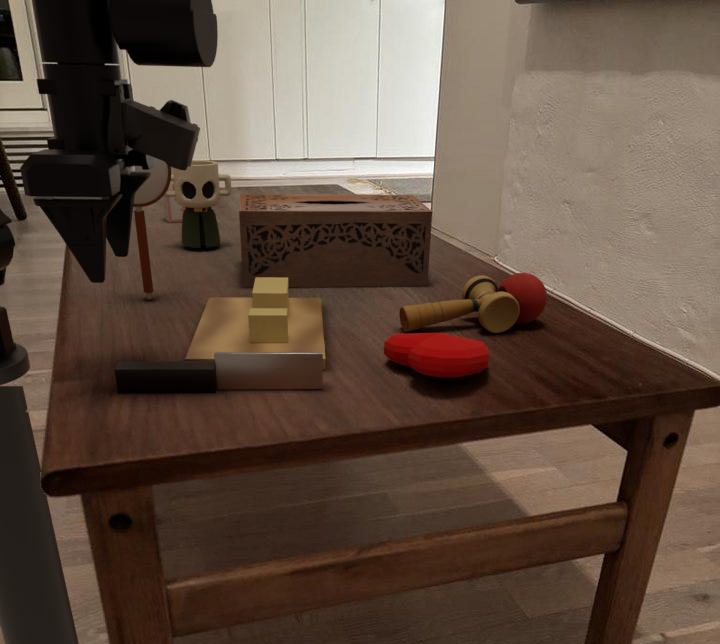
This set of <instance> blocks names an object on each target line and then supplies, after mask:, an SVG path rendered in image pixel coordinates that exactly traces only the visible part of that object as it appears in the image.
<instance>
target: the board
mask: <svg viewBox="0 0 720 644" xmlns="http://www.w3.org/2000/svg"><path fill="white" fill-rule="evenodd" d="M322 306H323V305H322V298H321V297H289V309H288V343H250V337H249V318H248V315H249V310H250V308H253V302H252V297H225V296H224V297H221V296H220V297H219V296H218V297H217V296H215V297H214V296H213V297H211V296H210V297H208V299H207V302H206V305H205V307H204V310H203V312H202V315H201V317H200V320H199V322H198V324H197V327H196V330H195V333H194V335H193V337H192V340H191V343H190V345H189V347H188V350H187V352H186V355H185V357H184V361H215V358H214V353H215V352H323V371H325V370H326V369H327V367H326V365H327V364H326V362H327V358H326V346H325V333H324V320H323V307H322Z"/></svg>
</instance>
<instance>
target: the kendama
mask: <svg viewBox="0 0 720 644" xmlns="http://www.w3.org/2000/svg"><path fill="white" fill-rule="evenodd" d="M547 301H548V293H547V290H546V287H545V284H544V283H543V281H541V279H540V278H539V277H537V276H535V275H534V274H531V273H528V272H517V273H514V274H511V275H508V277H506V278H505V279H504V280H503V281H501V283H500V285H499V286H498V285H497V283H496V282H495V280H494V279H492V278H491V277H489V276H488V275H476V276H473V277H472V278H470V279H469V280H468V281H467V282H466V283H465V285H464V286H463V288H462V292H461V299H451V300H450V299H449V300H441V301H436V302H428V303H419V304H411V305H410V304H409V305H402V306H400V307H399V313H398V315H399V322H400V326H401V328H402V330H403V332H405V333H410V332H412V331H416V330H418V329H422V328H426V327H429V326H432V325H437V324H440V323H444V322H448V321H452V320H454V319H458V318H461V317H463V316H464V317H465V316H467V315H469V314H472V313H474V312H476V313H477V318H478V322H479V324H480V325H481V326H482V327H483V328H484V330H486V331H487V332H489V333H491V334H501V333H505V332H507V331H508V330H510V329H511V328H512V327H513V326H514V325H515V324H517V325H525V324H528V323H531V322H533V321H535V320H537V319H538V318H539V317H540V316H541V315H542V313H543V311H544V310H545V308H546V305H547Z"/></svg>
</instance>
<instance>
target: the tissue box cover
mask: <svg viewBox="0 0 720 644" xmlns="http://www.w3.org/2000/svg"><path fill="white" fill-rule="evenodd" d="M239 195H240V196H239V197H240V198H239V207H238V217H239V237H240V255H241V271H242V272H241V273H242V288H244V289H246V288H247V289H249V288H251V289H253V287H254V282H255V278H256V277H277V278H288V283H289V288H330V287H331V288H342V287H343V288H346V287H347V288H350V287H351V288H353V287H354V288H355V287H356V288H357V287H361V288H362V287H428V285H429V284H428V283H429V269H430V255H431V254H430V253H431V239H432V237H431V236H432V225H433V211H432V210H431V209H430V208H429V207H428V206H426V204H424V203H423V202H422V201H421V200H419V198H418V197H416V196H414V195H413V194H357V193H356V194H355V193H353V194H351V193H350V194H349V193H348V194H346V193H345V194H344V193H343V194H338V193H337V194H333V193H331V194H328V193H327V194H326V193H318V194H317V193H316V194H315V193H240V194H239Z"/></svg>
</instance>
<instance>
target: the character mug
mask: <svg viewBox="0 0 720 644" xmlns="http://www.w3.org/2000/svg"><path fill="white" fill-rule="evenodd" d="M172 170H173V175H171V181H174V191H169V190H167V191H166V193H165V194H164V196H165V197H175V200H176V202H177V204H179V205H181V206H184V207H185V210H184V212H183V215H182V222H181V244H182V245H183V246H184V247H188V248H196V249H199V248H201V245H203V244H205V248H214V247H217V246H220V244H221V237H220V236H221V235H220V229H219V224H218V220H217V219H218V218H217V215H216V212H215V211H214V209H213V208H212V207H216V206H218V205H219V203H220V200H221V197H229V196H231V195H232V177H231V175H230V174H228V173H219V164H218V162H217V161H213V160H206V159H205V160H203V159H192V163H191V166H188V167H187V170H185V171H184V170H179V169H176V168H173V167H172ZM220 181H221V182H223V181H224V189H220Z"/></svg>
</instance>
